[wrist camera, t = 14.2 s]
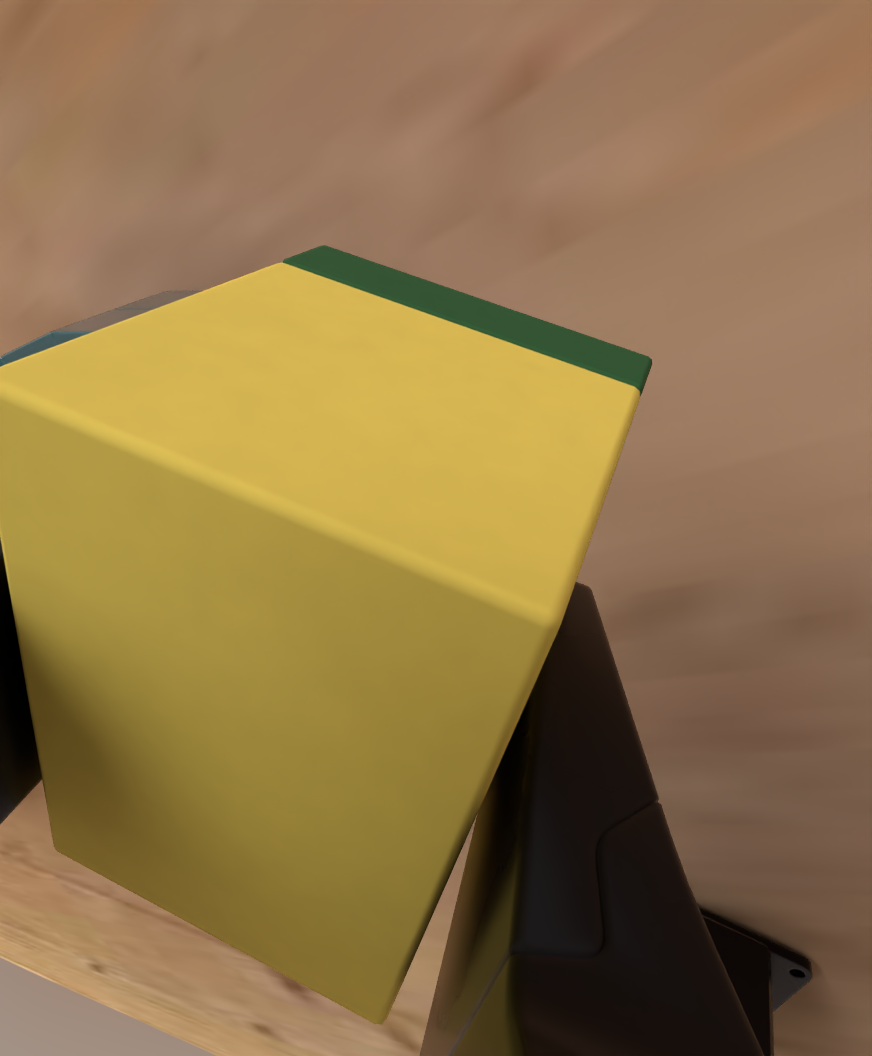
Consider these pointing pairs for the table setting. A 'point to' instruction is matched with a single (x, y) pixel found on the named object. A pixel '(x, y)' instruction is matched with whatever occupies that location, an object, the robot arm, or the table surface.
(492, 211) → the table surface
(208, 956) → the table surface
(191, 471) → the sponge
